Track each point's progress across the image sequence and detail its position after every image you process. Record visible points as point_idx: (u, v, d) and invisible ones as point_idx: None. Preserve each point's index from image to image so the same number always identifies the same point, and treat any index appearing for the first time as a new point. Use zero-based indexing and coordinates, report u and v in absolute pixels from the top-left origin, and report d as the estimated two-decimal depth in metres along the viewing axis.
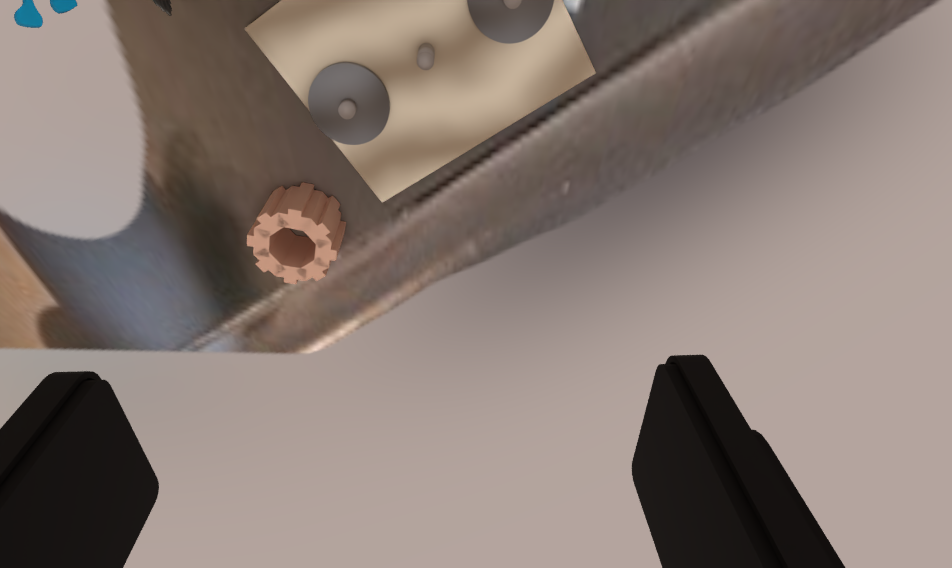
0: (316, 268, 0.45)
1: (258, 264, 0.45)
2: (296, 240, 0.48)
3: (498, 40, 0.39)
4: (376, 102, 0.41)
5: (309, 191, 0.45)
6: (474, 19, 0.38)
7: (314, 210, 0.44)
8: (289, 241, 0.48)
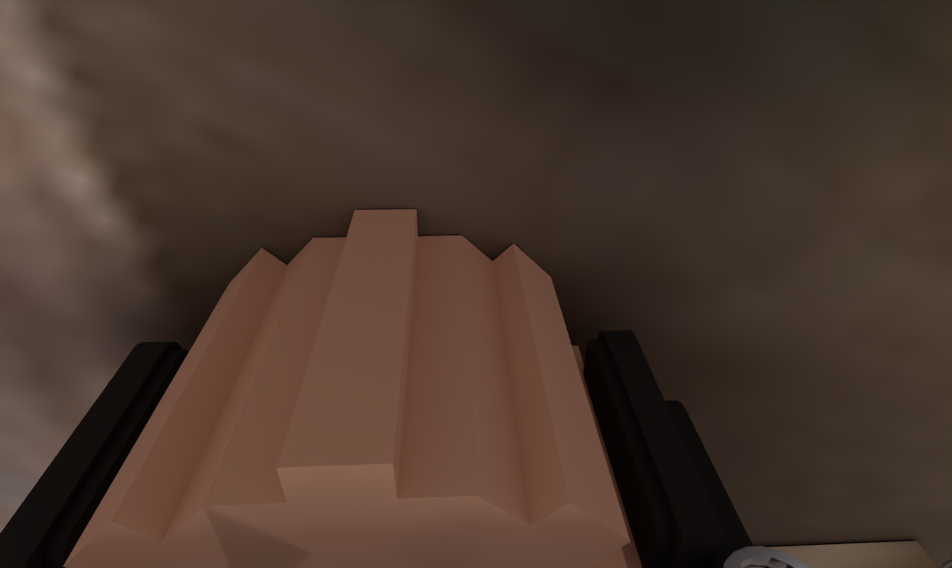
0: None
1: (374, 475, 0.05)
2: None
3: None
4: None
5: None
6: None
7: None
8: None
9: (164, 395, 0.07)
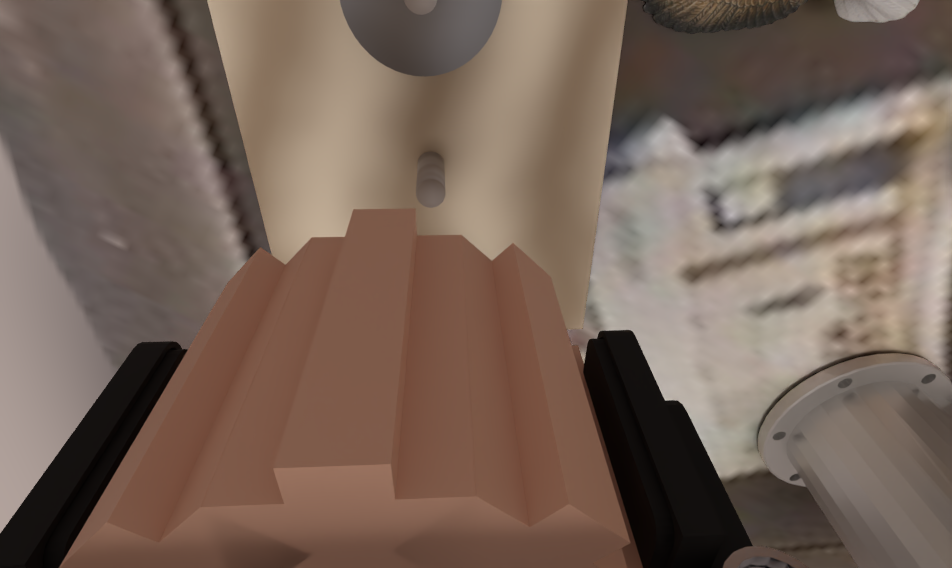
0: None
1: (371, 476, 0.05)
2: None
3: None
4: (401, 47, 0.21)
5: None
6: None
7: None
8: None
9: (161, 395, 0.07)
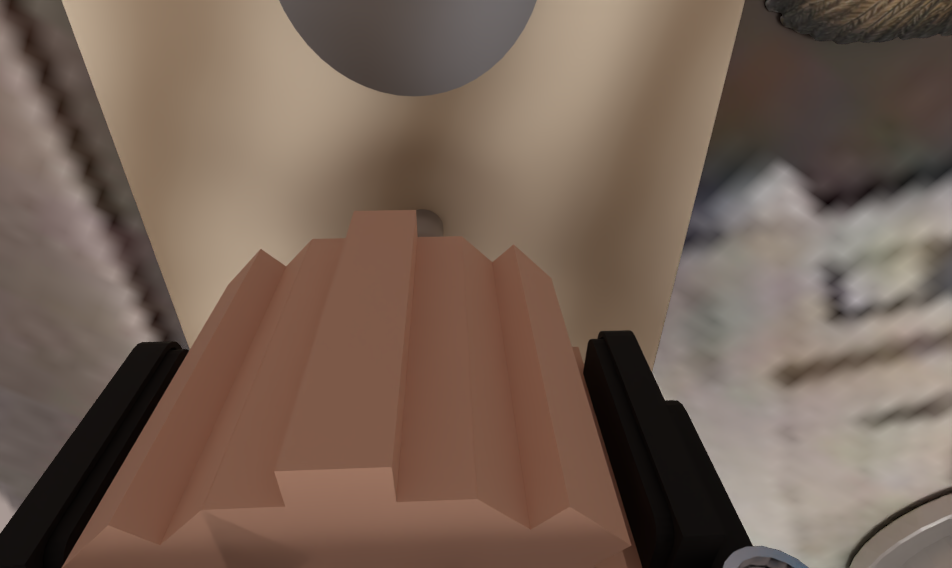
0: None
1: (372, 479, 0.05)
2: None
3: None
4: (373, 48, 0.13)
5: None
6: None
7: None
8: None
9: (162, 397, 0.07)
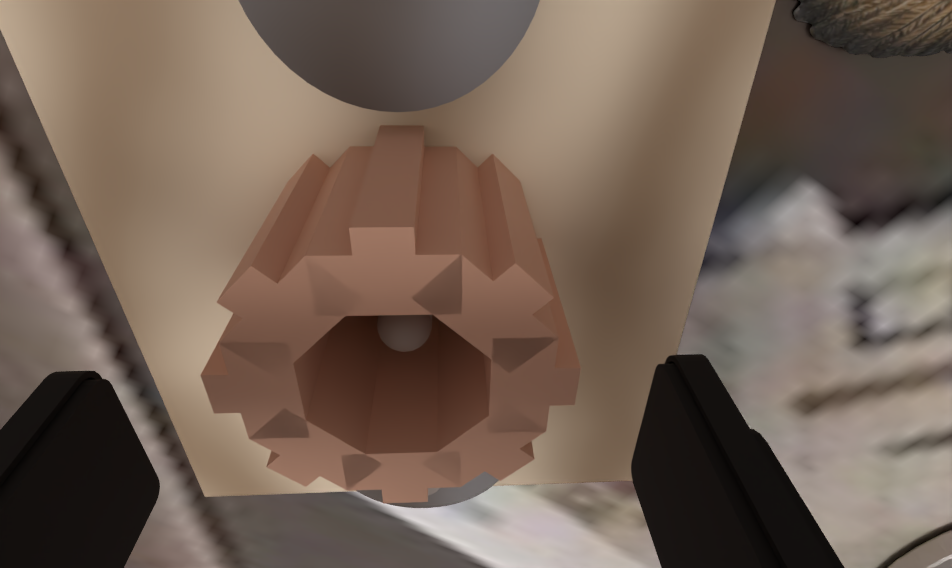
0: (263, 406, 0.10)
1: (403, 236, 0.09)
2: None
3: None
4: (351, 58, 0.11)
5: None
6: None
7: None
8: None
9: (257, 233, 0.11)
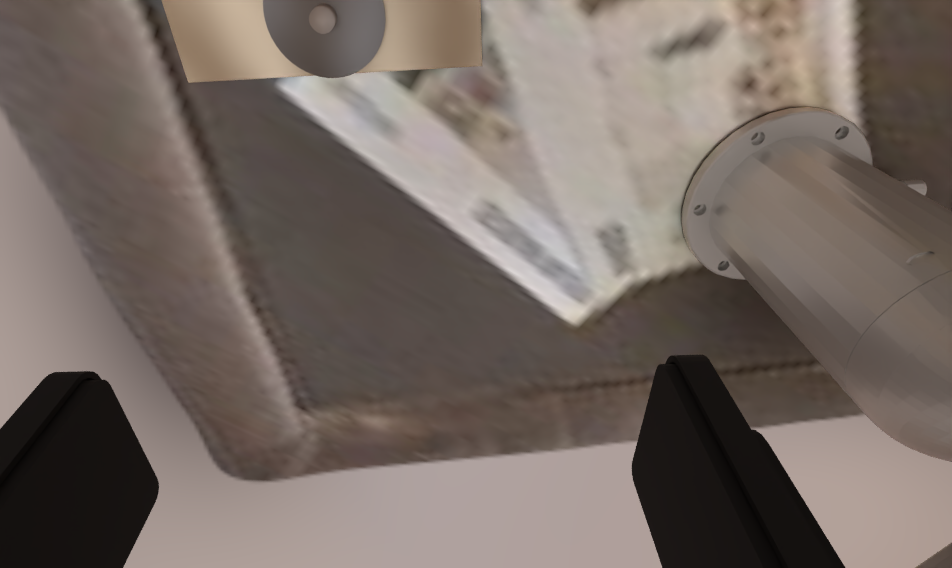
0: None
1: None
2: None
3: None
4: None
5: None
6: None
7: None
8: None
9: None
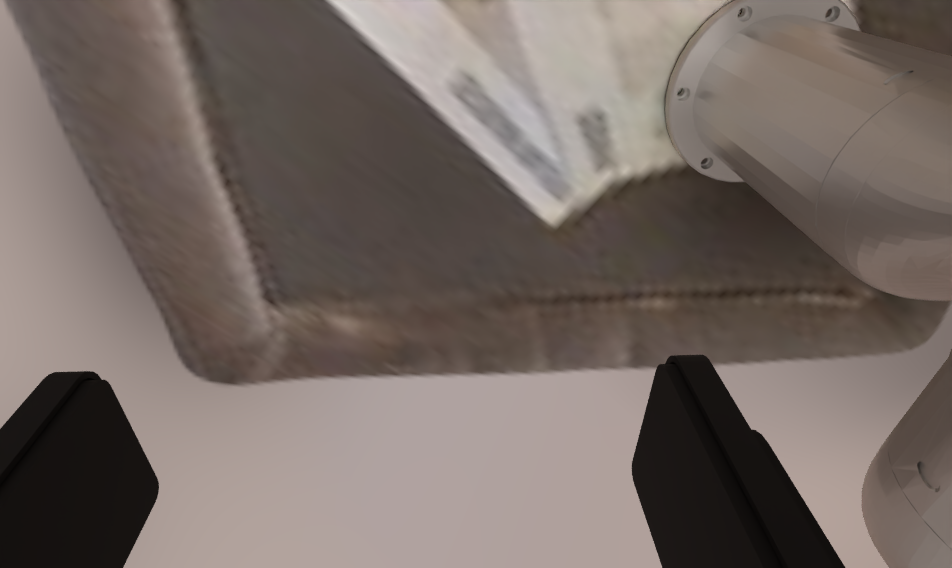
0: None
1: None
2: None
3: None
4: None
5: None
6: None
7: None
8: None
9: None
